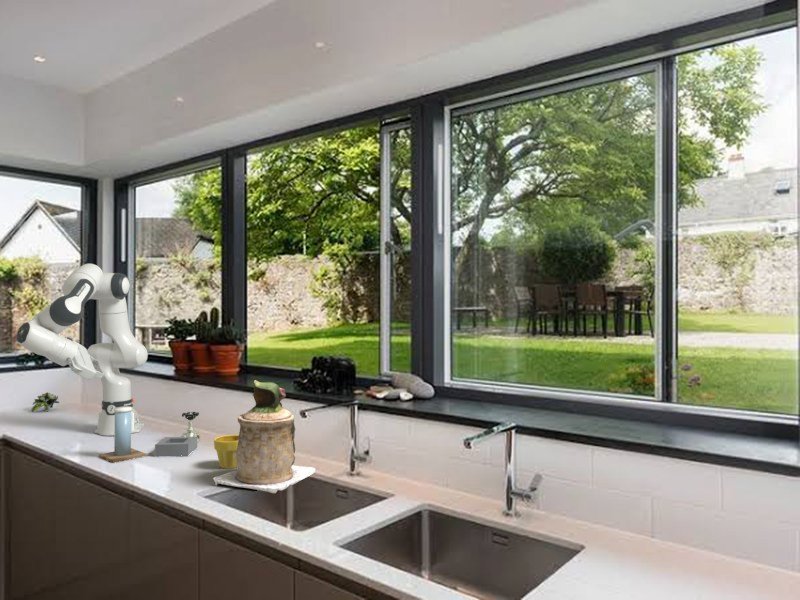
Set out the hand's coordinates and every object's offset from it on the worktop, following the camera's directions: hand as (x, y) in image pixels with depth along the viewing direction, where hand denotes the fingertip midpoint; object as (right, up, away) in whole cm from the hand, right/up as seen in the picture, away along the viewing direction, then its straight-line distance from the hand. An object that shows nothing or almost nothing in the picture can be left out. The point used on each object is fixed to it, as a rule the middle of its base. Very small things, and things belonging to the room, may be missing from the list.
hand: (99, 369), depth 219 cm
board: (+8, -32, +1) cm, 33 cm away
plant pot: (+51, -33, -11) cm, 61 cm away
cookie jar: (+67, -33, -25) cm, 78 cm away
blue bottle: (+8, -31, +1) cm, 32 cm away
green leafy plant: (-73, -32, +91) cm, 122 cm away
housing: (+25, -32, +8) cm, 42 cm away
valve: (+25, -32, +23) cm, 47 cm away
